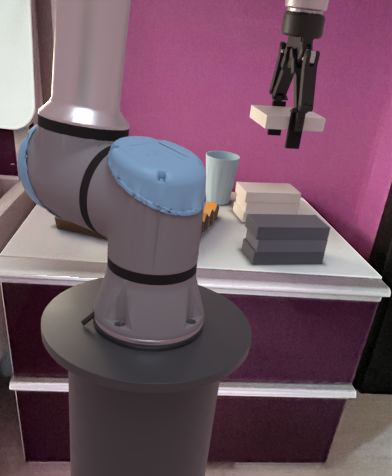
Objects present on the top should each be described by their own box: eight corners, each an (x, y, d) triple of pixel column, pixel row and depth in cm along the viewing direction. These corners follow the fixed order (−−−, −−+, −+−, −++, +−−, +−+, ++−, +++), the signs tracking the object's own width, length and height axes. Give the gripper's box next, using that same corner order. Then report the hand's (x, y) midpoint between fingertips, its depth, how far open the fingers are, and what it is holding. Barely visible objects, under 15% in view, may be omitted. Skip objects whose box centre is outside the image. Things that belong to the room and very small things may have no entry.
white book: (264, 128, 105) (267, 115, 104) (249, 117, 113) (251, 104, 111) (323, 131, 108) (326, 118, 107) (304, 120, 116) (306, 108, 114)
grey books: (251, 264, 102) (258, 226, 98) (240, 249, 107) (246, 213, 103) (322, 264, 106) (331, 227, 102) (308, 249, 111) (316, 214, 107)
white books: (241, 222, 120) (246, 192, 116) (232, 210, 125) (236, 181, 122) (296, 223, 123) (302, 193, 119) (284, 211, 129) (290, 183, 125)
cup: (227, 195, 134) (233, 150, 129) (238, 206, 128) (245, 160, 123) (197, 195, 132) (201, 150, 126) (207, 206, 126) (212, 159, 120)
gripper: (352, 18, 92) (322, 157, 104) (301, 9, 110) (280, 128, 122) (310, 14, 90) (284, 156, 102) (265, 5, 108) (247, 127, 120)
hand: (282, 141), depth 112 cm, fingers closed on white book, 9 cm apart
